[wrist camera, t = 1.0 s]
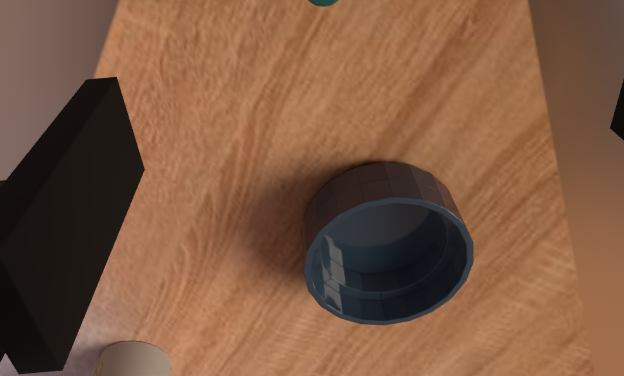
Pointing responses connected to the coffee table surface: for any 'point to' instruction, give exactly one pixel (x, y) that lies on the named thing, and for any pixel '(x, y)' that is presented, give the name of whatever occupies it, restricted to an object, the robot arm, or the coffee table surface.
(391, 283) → the bowl
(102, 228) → the robot arm
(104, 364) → the beige cylinder
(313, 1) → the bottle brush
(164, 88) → the coffee table surface
